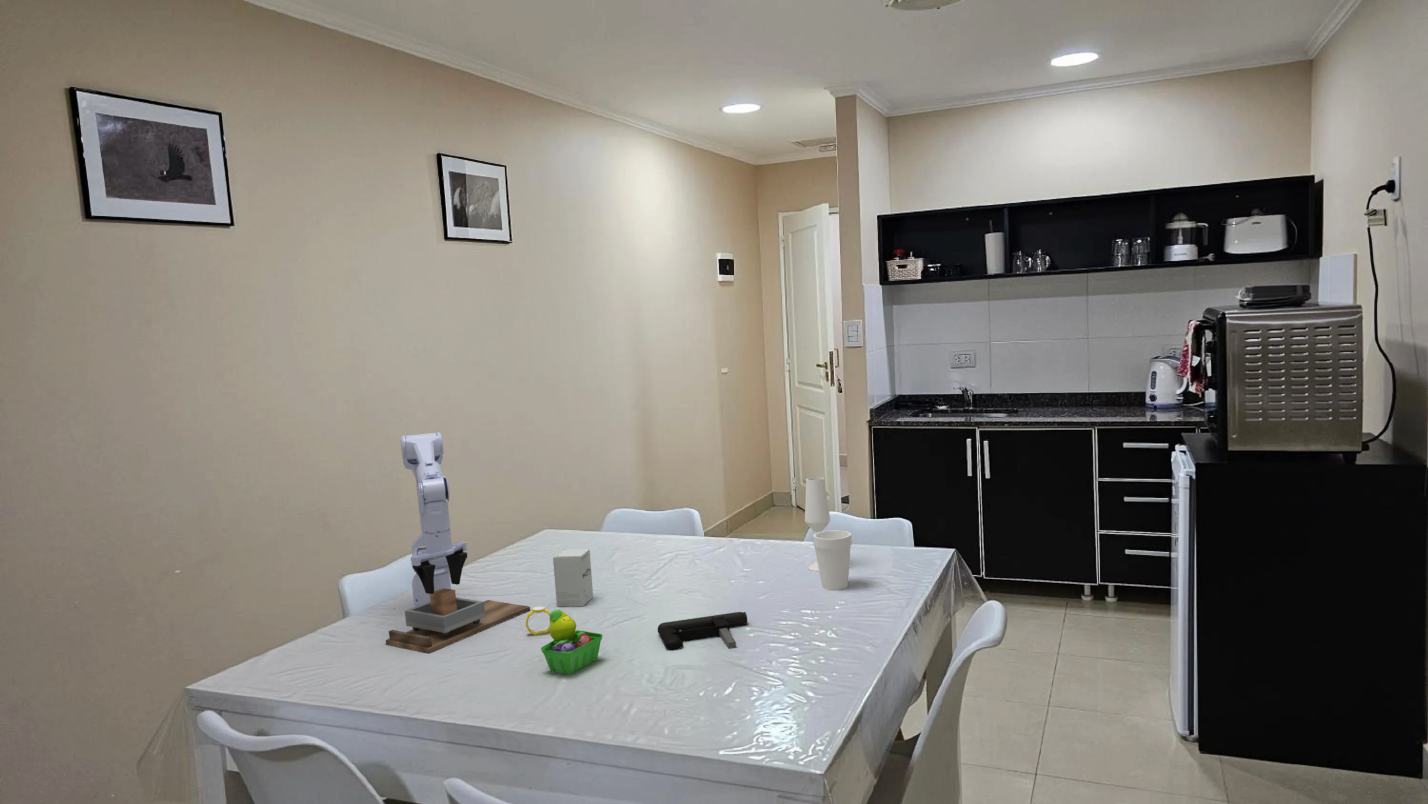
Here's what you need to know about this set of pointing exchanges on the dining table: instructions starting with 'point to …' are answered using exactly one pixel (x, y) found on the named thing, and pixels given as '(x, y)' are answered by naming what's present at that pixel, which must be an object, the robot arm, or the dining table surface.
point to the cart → (463, 615)
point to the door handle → (701, 629)
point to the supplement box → (573, 577)
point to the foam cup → (833, 558)
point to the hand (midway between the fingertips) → (442, 588)
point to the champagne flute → (816, 508)
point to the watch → (537, 610)
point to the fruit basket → (569, 645)
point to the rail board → (435, 640)
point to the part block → (443, 601)
